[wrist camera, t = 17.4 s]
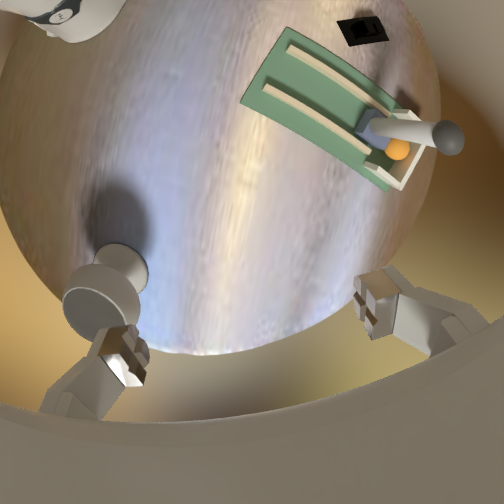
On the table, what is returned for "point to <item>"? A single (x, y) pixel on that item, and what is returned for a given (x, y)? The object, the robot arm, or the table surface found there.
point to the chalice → (105, 291)
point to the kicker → (409, 132)
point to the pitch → (319, 101)
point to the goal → (399, 168)
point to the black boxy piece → (363, 30)
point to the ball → (397, 149)
